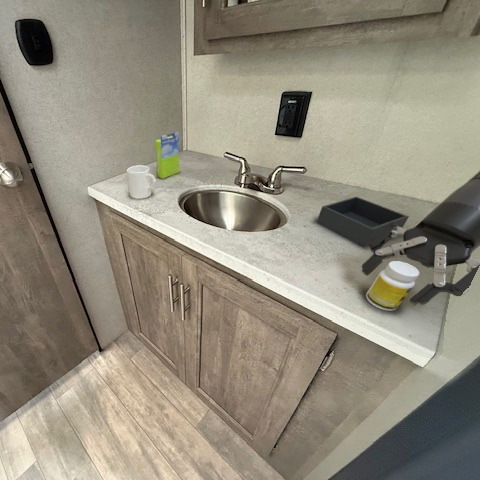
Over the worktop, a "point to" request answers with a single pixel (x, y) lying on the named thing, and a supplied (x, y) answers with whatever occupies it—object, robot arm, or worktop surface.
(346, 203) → the bin
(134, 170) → the mug
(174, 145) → the box
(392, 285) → the supplement bottle
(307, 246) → the worktop surface
